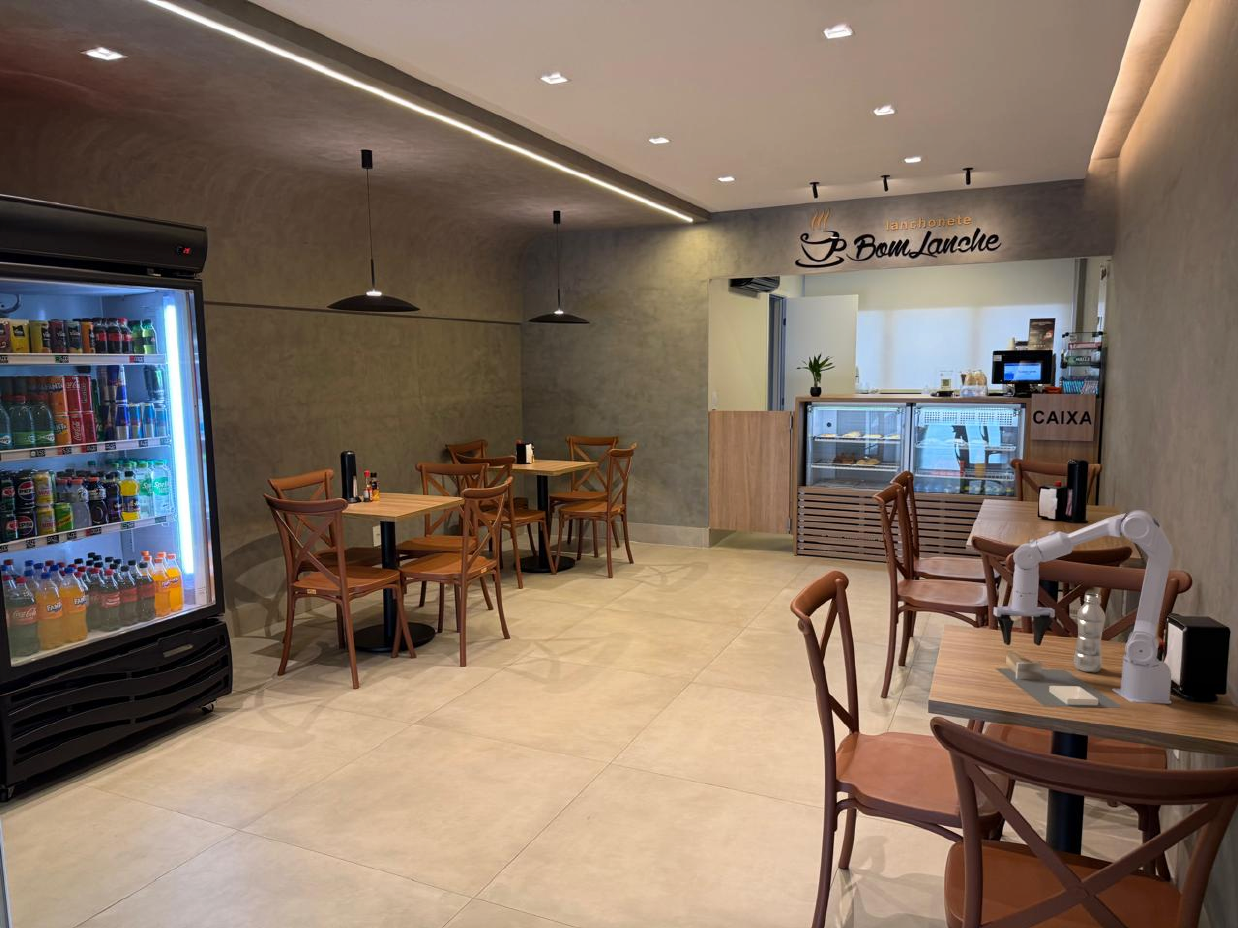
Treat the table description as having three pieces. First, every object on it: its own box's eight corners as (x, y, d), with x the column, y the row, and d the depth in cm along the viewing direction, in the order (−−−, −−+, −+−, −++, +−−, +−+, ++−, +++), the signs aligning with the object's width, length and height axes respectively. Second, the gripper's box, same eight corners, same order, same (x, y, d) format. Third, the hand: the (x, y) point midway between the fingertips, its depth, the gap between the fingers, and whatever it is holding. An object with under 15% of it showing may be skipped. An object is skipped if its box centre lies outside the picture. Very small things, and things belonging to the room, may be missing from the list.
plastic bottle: (1075, 673, 212) (1081, 596, 210) (1070, 665, 218) (1076, 590, 216) (1104, 676, 210) (1110, 599, 208) (1098, 668, 216) (1104, 593, 214)
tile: (1079, 686, 197) (1098, 699, 189) (1078, 692, 197) (1097, 706, 189) (1049, 685, 197) (1067, 698, 189) (1049, 692, 197) (1067, 705, 189)
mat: (1064, 671, 214) (1064, 669, 214) (1123, 709, 189) (1123, 707, 189) (994, 669, 214) (994, 668, 214) (1044, 707, 189) (1044, 705, 189)
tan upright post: (1021, 665, 216) (1023, 650, 215) (1041, 679, 206) (1042, 663, 205) (998, 665, 216) (999, 650, 215) (1017, 679, 206) (1018, 663, 205)
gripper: (1046, 588, 213) (1042, 639, 214) (989, 587, 213) (986, 638, 214) (1060, 594, 206) (1056, 648, 207) (1002, 594, 206) (998, 647, 207)
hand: (1021, 644), depth 210 cm, fingers open, 7 cm apart
